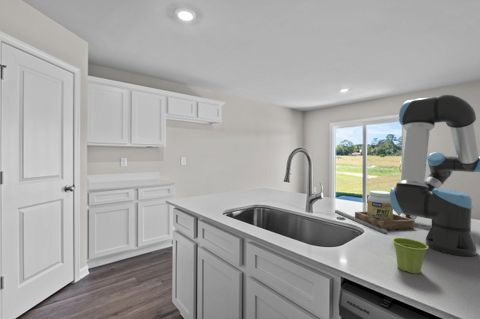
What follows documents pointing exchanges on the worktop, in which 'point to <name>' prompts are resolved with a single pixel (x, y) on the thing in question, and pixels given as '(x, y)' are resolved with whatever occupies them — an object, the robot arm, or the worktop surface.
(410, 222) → the wooden tray
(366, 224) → the rail
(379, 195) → the supplement tub
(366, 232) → the worktop surface
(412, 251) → the plant pot
